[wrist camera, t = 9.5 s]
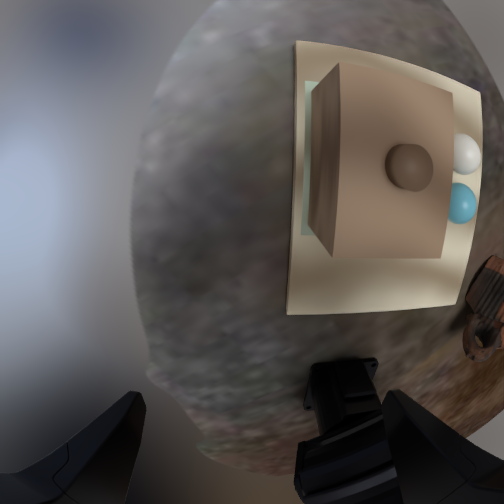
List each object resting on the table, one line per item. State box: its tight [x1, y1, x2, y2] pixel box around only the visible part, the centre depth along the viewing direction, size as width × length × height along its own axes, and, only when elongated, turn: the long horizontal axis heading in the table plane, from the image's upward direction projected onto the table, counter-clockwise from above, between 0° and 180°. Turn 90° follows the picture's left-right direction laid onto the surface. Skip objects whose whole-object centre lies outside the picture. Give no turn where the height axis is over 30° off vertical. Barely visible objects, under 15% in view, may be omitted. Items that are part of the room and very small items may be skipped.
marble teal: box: [448, 182, 477, 224], centre depth 15 cm, size 3×3×3 cm
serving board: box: [286, 40, 482, 315], centre depth 17 cm, size 19×16×1 cm
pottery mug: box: [463, 255, 504, 362], centre depth 19 cm, size 12×10×8 cm
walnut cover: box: [308, 62, 454, 259], centre depth 13 cm, size 9×6×7 cm
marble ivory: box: [453, 133, 481, 175], centre depth 14 cm, size 3×3×3 cm
